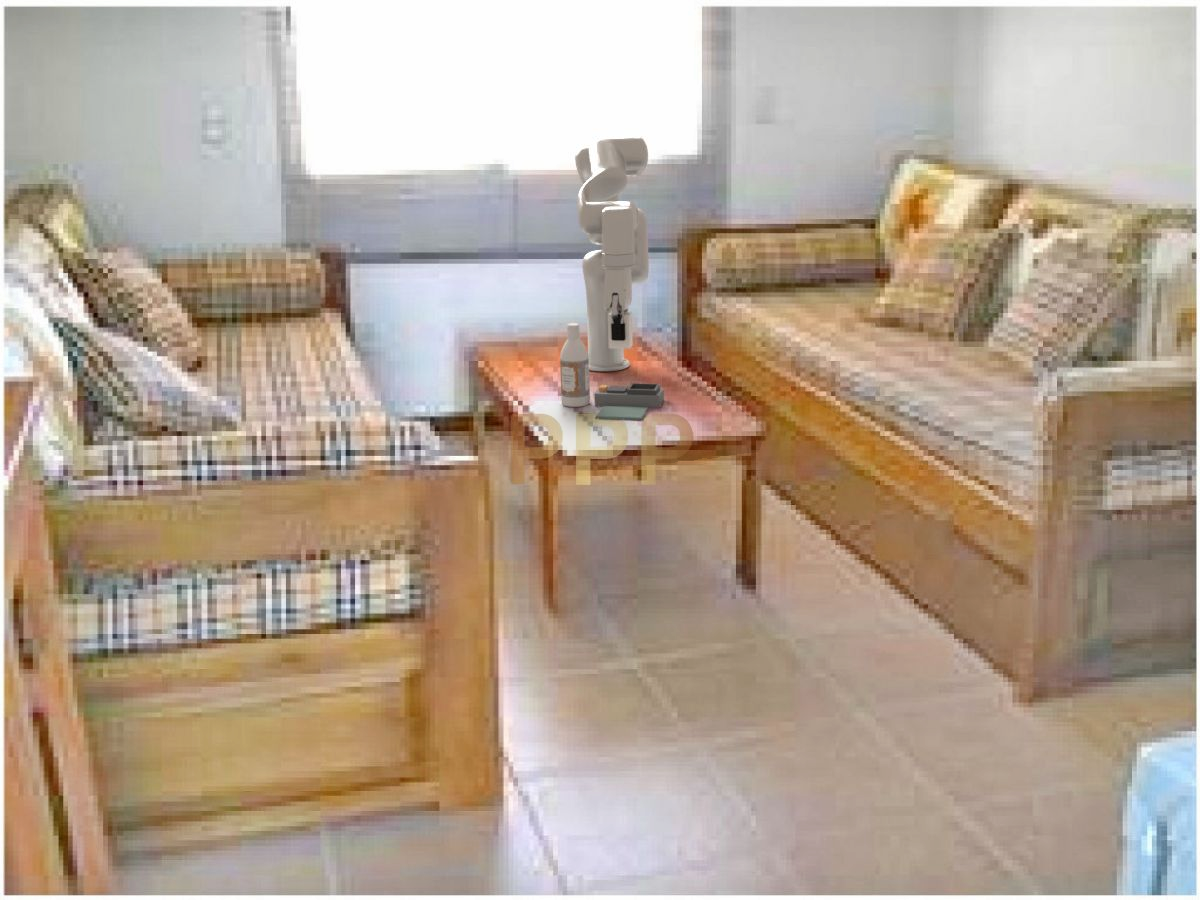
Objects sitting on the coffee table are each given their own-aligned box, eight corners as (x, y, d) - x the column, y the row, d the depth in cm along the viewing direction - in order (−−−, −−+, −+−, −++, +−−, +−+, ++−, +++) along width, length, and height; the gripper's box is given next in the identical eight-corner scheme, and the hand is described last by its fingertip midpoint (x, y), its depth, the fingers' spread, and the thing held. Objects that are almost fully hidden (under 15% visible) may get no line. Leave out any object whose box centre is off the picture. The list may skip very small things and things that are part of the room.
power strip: (600, 397, 344) (600, 381, 343) (664, 399, 341) (663, 383, 340) (594, 405, 338) (594, 389, 336) (659, 407, 334) (659, 390, 333)
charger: (611, 344, 327) (611, 304, 324) (632, 344, 326) (631, 304, 323) (608, 348, 324) (607, 308, 321) (629, 348, 323) (628, 308, 320)
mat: (603, 408, 335) (603, 405, 335) (647, 409, 333) (647, 407, 333) (595, 418, 327) (595, 416, 327) (641, 420, 325) (641, 417, 324)
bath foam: (556, 405, 339) (553, 325, 333) (572, 398, 344) (569, 320, 338) (579, 409, 335) (576, 328, 329) (595, 402, 341) (593, 322, 334)
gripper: (609, 254, 327) (611, 329, 333) (595, 266, 312) (597, 345, 317) (641, 254, 326) (642, 330, 331) (628, 267, 310) (629, 346, 316)
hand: (620, 337), depth 324 cm, fingers closed on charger, 4 cm apart
